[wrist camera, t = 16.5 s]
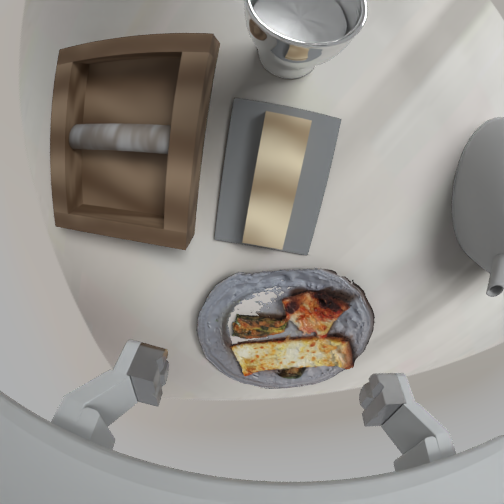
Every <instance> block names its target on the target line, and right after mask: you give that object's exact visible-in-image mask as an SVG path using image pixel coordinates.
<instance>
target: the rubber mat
mask: <svg viewBox="0 0 504 504" xmlns="http://www.w3.org/2000/svg"><path fill="white" fill-rule="evenodd" d="M266 111H269V112H274V113H279V114H284V115H289V116H294V117H298V118H303V119H307V120H312V122H311V127H310V132H309V136H308V141H307V146H306V150H305V155H304V159H303V164H302V168H301V173H300V177H299V182H298V186H297V190H296V195H295V199H294V203H293V208H292V212H291V216H290V220H289V224H288V229H287V233H286V237H285V241H284V245H283V249H282V250H280V249H275V248H269V247H264V246H258V245H253V244H247V243H242V241H243V236H244V230H245V224H246V218H247V213H248V207H249V201H250V196H251V190H252V184H253V179H254V173H255V168H256V162H257V157H258V151H259V146H260V140H261V135H262V130H263V124H264V119H265V114H266ZM340 123H341V119H339V118H335V117H331V116H328V115H324V114H320V113H316V112H311V111H307V110H302V109H298V108H293V107H288V106H283V105H278V104H272V103H266V102H260V101H254V100H247V99H240V98H234V103H233V109H232V115H231V121H230V127H229V134H228V140H227V147H226V154H225V161H224V168H223V175H222V182H221V190H220V198H219V205H218V213H217V222H216V230H215V239H216V240H222V241H227V242H233V243H239V244H245V245H251V246H257V247H263V248H268V249H274V250H280V251H286V252H292V253H297V254H303V255H308V252H309V248H310V245H311V241H312V238H313V234H314V230H315V227H316V223H317V219H318V215H319V212H320V208H321V204H322V200H323V196H324V192H325V188H326V184H327V180H328V176H329V172H330V168H331V163H332V159H333V155H334V151H335V146H336V142H337V137H338V132H339V128H340Z"/></svg>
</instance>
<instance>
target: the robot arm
mask: <svg viewBox="0 0 504 504" xmlns="http://www.w3.org/2000/svg"><path fill="white" fill-rule="evenodd" d="M167 356H168V351H167V349H164V348H160V347H156V346H153V345H149V344H146V343H142V342H138V341H135V340H131V339H130V340H128V341H127V343H126V345H125V347H124V349H123V351H122V353H121V355H120V357H119V359H118V361H117V363H116V365H115V367H114V369H113V371H112V370H108V371H106V372H105V373H103V374H101V375H100V376H98V377H96V378H94V379H93V380H91V381H89V382H88V383H86V384H84V385H82V386H81V387H79V388H77V389H75V390H74V391H72V392H70V393H69V394H67V395H65V396H64V398H63V400H62V401H61V403H60V405H59V407H58V409H57V411H56V413H55V415H54V417H53V419H52V421H51V422H49V421H47V420H46V419H44V418H42V417H40V416H38V415H37V414H35V413H33V412H32V411H30V410H28V409H27V408H25V407H23V406H22V405H20V404H19V403H17V402H16V401H14V400H13V399H11V398H10V397H8V396H7V395H5V394H4V393H3V392H1V391H0V504H504V435H501V436H498V437H496V438H494V439H492V440H489V441H487V442H485V443H483V444H480V445H478V446H476V447H473V448H471V449H468V450H466V451H463V452H460V453H458V454H456V452H455V448H454V445H453V442H452V439H451V435H450V432H449V431H448V430H447V429H446V428H445V427H444V426H443V425H442V424H441V423H440V422H439V421H437V420H436V419H435V418H434V417H433V416H432V415H431V414H430V413H429V412H428V411H427V410H426V409H425V408H423V406H421V405H420V404H419V403H416V402H415V399H414V397H413V393H412V390H411V388H410V385H409V382H408V379H407V377H406V375H405V374H404V373H374V374H372V375H371V376H370V378H369V382H368V383H367V384H365V385H364V386H363V387H362V389H361V391H360V395H359V401H360V405H361V406H362V407H363V408H364V411H363V413H362V416H363V421H364V425H365V426H381V425H382V426H381V427H382V428H383V430H384V431H385V432H386V433H387V435H388V436H389V437H390V439H391V440H392V441H393V443H394V444H395V445H396V446H397V448H398V449H399V450H400V452H401V453H402V454H403V455H402V456H400V457H399V458H397V459H396V460H395V461H394V467H395V471H394V472H390V473H384V474H379V475H373V476H367V477H360V478H352V479H343V480H331V481H316V482H269V481H252V480H241V479H232V478H224V477H216V476H210V475H204V474H199V473H193V472H188V471H183V470H179V469H174V468H170V467H166V466H162V465H158V464H155V463H151V462H147V461H144V460H141V459H137V458H134V457H131V456H128V455H125V454H122V453H119V452H117V451H114V450H112V449H113V446H114V443H115V438H114V436H113V435H112V433H111V432H110V430H109V429H108V426H109V425H110V424H112V423H113V422H114V421H115V420H117V419H118V418H119V417H120V416H122V415H123V414H124V413H125V412H127V411H128V410H129V409H130V408H132V407H133V406H134V405H135V404H136V403H137V401H138V402H142V403H146V404H150V405H154V406H158V405H159V403H160V399H161V396H162V386H163V385H165V384H166V380H167V376H168V371H169V362H168V361H167V360H166V359H167Z"/></svg>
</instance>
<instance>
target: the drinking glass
mask: <svg viewBox="0 0 504 504" xmlns="http://www.w3.org/2000/svg"><path fill="white" fill-rule="evenodd" d="M244 12H245V21H246V26H247V30H248V32H249V35H250V37H251V39H252V41H253V43H254V44H255V46H256V47H257V48H258V55H259V59H260V61H261V63H262V65H263V66H264V67H265V68H266V69H267V70H268V71H269V72H270V73H272V74H274V75H276V76H278V77H281V78H286V79H295V78H300V77H303V76H305V75H307V74H308V73H310V72H311V71H312V70H313V69H314V67H315V66H317V65H320V64H323V63H325V62H327V61H329V60H331V59H332V58H334V57H335V56H337V55H338V54H339V53H340V52H341V51H343V50H344V49H345V48H346V47H347V46H348V44H349V43H350V42H351V41H352V39H353V38H354V37H355V36H356V35H357V34H358V33H359V32H360V30H361V29H362V28H363V26H364V24H365V22H366V19H367V13H368V6H367V1H366V0H244Z"/></svg>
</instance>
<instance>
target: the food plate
mask: <svg viewBox="0 0 504 504" xmlns="http://www.w3.org/2000/svg"><path fill="white" fill-rule="evenodd" d="M318 269H319V268H315V270H313V269H303V270H300V269H299V270H293V269H292V270H280V271H272V272H270V271H267V272H266V271H263V272H259V273H254V274H250V273H248V274H247V273H241V272H238V273H236V274H234V275H232V276H230V277H228V278H227V279H224V280H223V281H221V283H219V284H218V285H216V286H215V288H214V289H213V290H212V291H211V292H210V294H209V296H208V297H207V299H206V302H205V304H204V305H203V307H202V309H201V311H200V312H199V316H198V322H197V323H198V326H197V331H198V338H199V341H200V343H201V346H202V349H203V351H204V354H205V357H206V358H207V359H208V360H209V361H210V362H211V363H212V364H213V365H215V366H216V368H217V369H218V370H219V371H221V372H222V373H224V374H225V375H227V376H228V377H230V378H232V379H234V380H236V381H239V382H242V383H245V384H251V385H254V386H258V387H260V388H261V387H264V388H265V387H272V388H269V389H274V388H273V387H277V388H291V387H299V386H297V385H301V386H303V385H305V386H306V385H309V384H311V385H313V384H316V383H319V382H322V381H325V380H327V379H329V378H331V377H333V376H335V375H336V374H338V373H339V372H342V371H343V370H345V369H350V368H351V367H352V368H353V366H354V362H355V360H356V358H357V357H358V356H359V355H361V353H362V352H363V351H364V350H365V348H366V345H367V344H368V342H369V339H370V337H371V335H372V332H373V328H374V327H373V326H374V318H375V317H374V313H373V310H372V308H371V306H370V304H369V302H368V300H367V298H366V296H365V293H364V291H363V290H362V289H361V288H360V287H359V286H358V285H357V284H355V283H354V282H353V284H351V281H349V280H348V278H346V277H343V276H342V277H340V276H338V275H337V273H336V272H335V271H332V270H327V269H319V270H318ZM242 274H243V275H242ZM281 280H284V281H281ZM352 281H353V280H352ZM274 286H277V287H276V288H279V287H281V289H278V290H276V288H275V287H274ZM273 287H274V289H272V290H267V291H270V292H274V293H275V294H276V295H277V298H276V299H275V298H271V301H272V303H271V302H268V303H263V302H262V301H258V303H259V305H261V304H260V302H262V305H263V307H262V308H261V309H259V310H261V311H256V313H257V314H258V315H259V316H254V315H253V316H249V315H239V314H236V315H237V318H236V321H234V322H233V324H232V326H233V327H232V328H233V330H234V334H233V335H232V336H238V337H240V338H245V339H248V338H250V339H251V338H260V339H256V340H255V339H254V340H248V341H243V342H238V344H233V345H232V341H231V338H230V334H229V328H228V325H227V324H228V321H229V317H230V316H231V312H234V307H235V306H236V305H238V304H239V303H240V304H242V302H241V301H242V300H244V299H245V300H249V299H252V298H254V297H255V295H252V294H253V293H260V292H262V291H264V292H267V291H265V289H266V288H273ZM288 287H291V288H290V289H287V288H288ZM276 291H278V293H277V292H276ZM281 291H284V293H283V294H281V296H279V295H278V294H280V292H281ZM265 294H268V293H265ZM257 295H258V294H257ZM258 296H260V295H258ZM274 300H276V302H274ZM255 302H256V303H257V301H255ZM268 307H269V309H268ZM238 310H239V309H238ZM251 313H252V312H251ZM269 316H270V317H269ZM266 337H268V338H266Z"/></svg>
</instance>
